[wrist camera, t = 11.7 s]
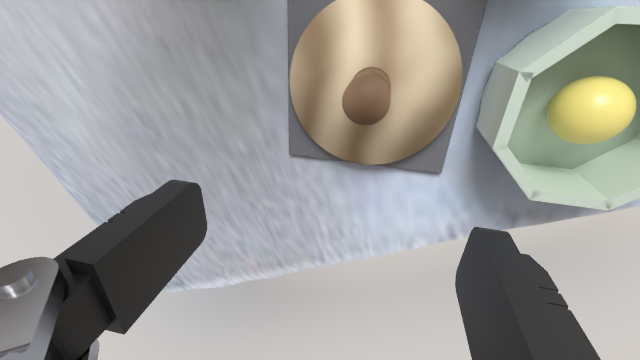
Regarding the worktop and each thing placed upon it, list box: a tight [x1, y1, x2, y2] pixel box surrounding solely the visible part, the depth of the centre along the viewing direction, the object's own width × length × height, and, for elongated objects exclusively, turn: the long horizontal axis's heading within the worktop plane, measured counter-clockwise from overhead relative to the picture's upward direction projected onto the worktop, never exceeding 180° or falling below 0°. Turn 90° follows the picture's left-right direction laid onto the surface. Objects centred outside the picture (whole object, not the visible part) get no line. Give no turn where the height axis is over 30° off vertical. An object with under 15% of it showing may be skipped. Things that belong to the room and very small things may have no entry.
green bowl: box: [476, 6, 640, 211], centre depth 26 cm, size 15×15×7 cm
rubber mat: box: [288, 0, 487, 173], centre depth 31 cm, size 18×18×1 cm
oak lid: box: [290, 0, 462, 165], centre depth 28 cm, size 17×17×7 cm
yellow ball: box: [547, 76, 636, 144], centre depth 25 cm, size 6×6×6 cm
